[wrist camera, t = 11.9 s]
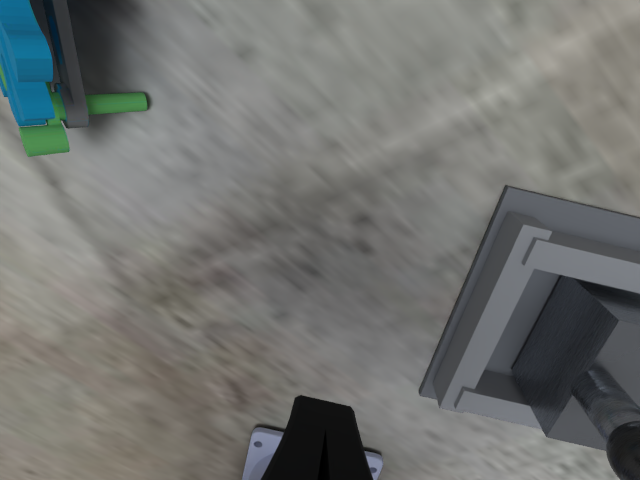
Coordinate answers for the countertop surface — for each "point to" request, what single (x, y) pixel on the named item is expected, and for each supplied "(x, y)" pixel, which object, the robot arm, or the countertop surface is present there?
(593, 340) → the block
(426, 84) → the countertop surface
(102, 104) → the blue toy water gun
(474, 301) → the base
